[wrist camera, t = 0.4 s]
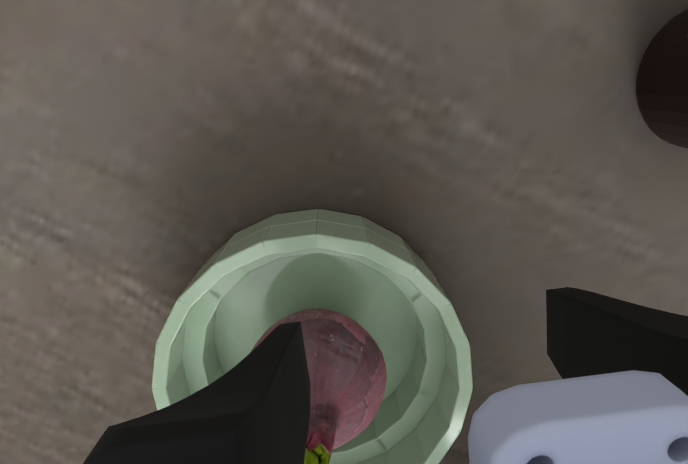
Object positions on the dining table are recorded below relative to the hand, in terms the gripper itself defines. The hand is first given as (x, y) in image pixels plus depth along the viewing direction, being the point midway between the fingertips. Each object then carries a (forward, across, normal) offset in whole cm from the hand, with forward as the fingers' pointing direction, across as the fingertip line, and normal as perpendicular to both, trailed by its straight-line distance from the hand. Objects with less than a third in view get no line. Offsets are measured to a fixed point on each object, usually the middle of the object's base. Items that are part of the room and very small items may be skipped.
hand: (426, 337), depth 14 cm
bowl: (+10, +4, +4) cm, 12 cm away
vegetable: (+10, +4, +4) cm, 12 cm away
